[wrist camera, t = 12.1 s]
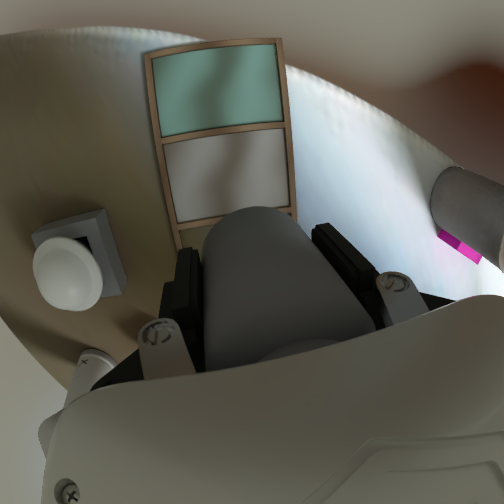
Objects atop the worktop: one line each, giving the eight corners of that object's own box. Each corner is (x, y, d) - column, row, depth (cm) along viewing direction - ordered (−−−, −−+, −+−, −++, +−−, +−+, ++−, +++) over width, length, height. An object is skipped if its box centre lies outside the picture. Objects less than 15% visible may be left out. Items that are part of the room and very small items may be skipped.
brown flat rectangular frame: (280, 39, 21) (281, 37, 21) (297, 279, 34) (298, 282, 34) (145, 55, 20) (144, 54, 20) (190, 298, 33) (190, 300, 33)
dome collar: (105, 208, 26) (95, 217, 24) (127, 280, 31) (122, 294, 28) (42, 224, 26) (30, 234, 23) (67, 289, 30) (59, 303, 27)
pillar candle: (474, 175, 32) (548, 209, 18) (458, 232, 36) (523, 279, 22) (438, 157, 30) (526, 192, 16) (420, 224, 34) (497, 278, 20)
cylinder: (304, 198, 12) (478, 380, 3) (307, 290, 14) (401, 468, 5) (191, 217, 11) (184, 480, 3) (212, 308, 14) (239, 516, 5)
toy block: (437, 236, 35) (470, 260, 29) (454, 201, 33) (490, 220, 26) (474, 261, 40) (499, 281, 33) (488, 233, 38) (515, 251, 31)
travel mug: (78, 342, 34) (41, 460, 16) (118, 355, 36) (97, 479, 18) (79, 366, 36) (51, 473, 18) (116, 378, 38) (99, 489, 20)
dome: (98, 216, 25) (70, 246, 19) (121, 286, 29) (105, 327, 23) (38, 232, 24) (6, 262, 18) (63, 294, 28) (42, 332, 22)
